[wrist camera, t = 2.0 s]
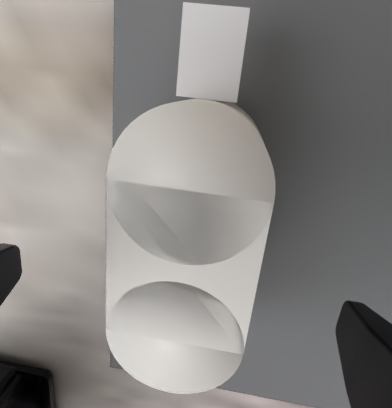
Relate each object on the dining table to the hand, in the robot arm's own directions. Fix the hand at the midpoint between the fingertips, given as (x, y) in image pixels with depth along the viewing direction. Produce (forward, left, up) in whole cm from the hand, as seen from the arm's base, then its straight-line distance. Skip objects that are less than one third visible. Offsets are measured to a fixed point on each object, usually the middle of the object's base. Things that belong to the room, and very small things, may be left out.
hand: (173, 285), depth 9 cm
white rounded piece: (+1, 0, -6) cm, 6 cm away
